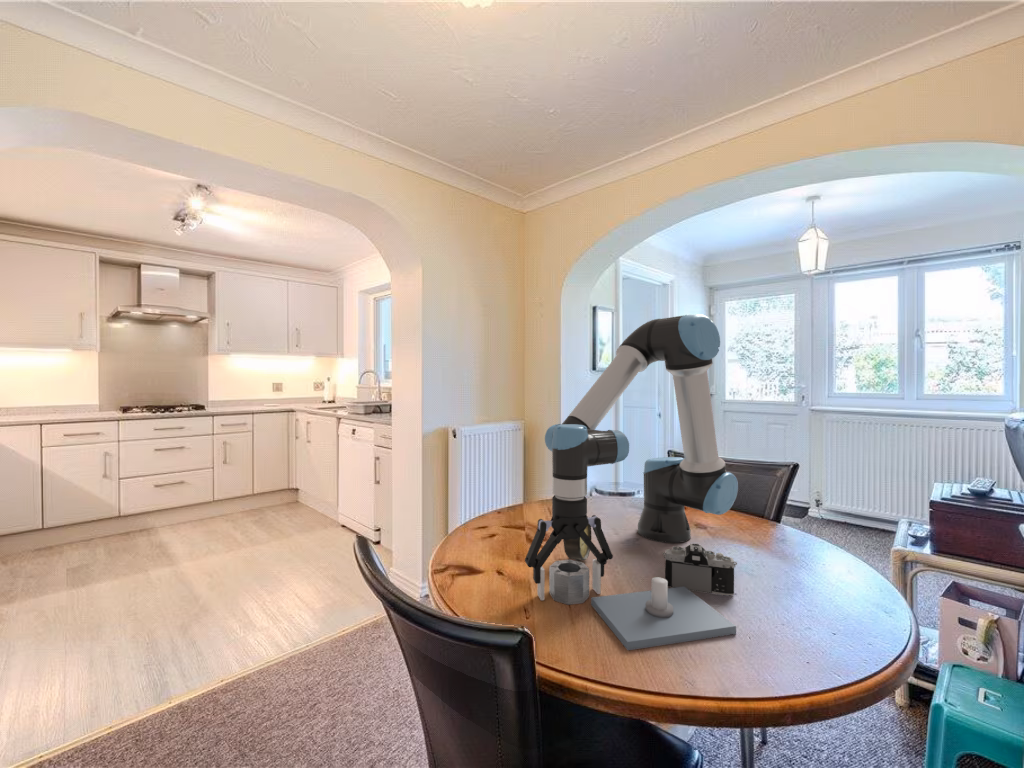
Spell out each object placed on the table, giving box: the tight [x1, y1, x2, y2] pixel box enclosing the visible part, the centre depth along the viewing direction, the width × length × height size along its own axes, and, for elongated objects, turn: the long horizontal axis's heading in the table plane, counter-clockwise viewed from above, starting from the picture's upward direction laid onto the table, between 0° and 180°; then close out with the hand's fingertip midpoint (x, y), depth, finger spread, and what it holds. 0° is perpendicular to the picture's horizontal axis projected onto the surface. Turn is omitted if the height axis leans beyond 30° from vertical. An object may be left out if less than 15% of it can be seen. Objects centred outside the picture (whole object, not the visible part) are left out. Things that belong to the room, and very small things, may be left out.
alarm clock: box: [562, 516, 592, 562], centre depth 115 cm, size 11×5×16 cm, turn 155°
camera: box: [662, 543, 738, 596], centre depth 102 cm, size 16×9×10 cm, turn 70°
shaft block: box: [590, 576, 737, 651], centre depth 88 cm, size 22×16×8 cm
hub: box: [548, 559, 590, 606], centre depth 98 cm, size 8×8×6 cm
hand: (569, 594), depth 98 cm, fingers open, 12 cm apart
